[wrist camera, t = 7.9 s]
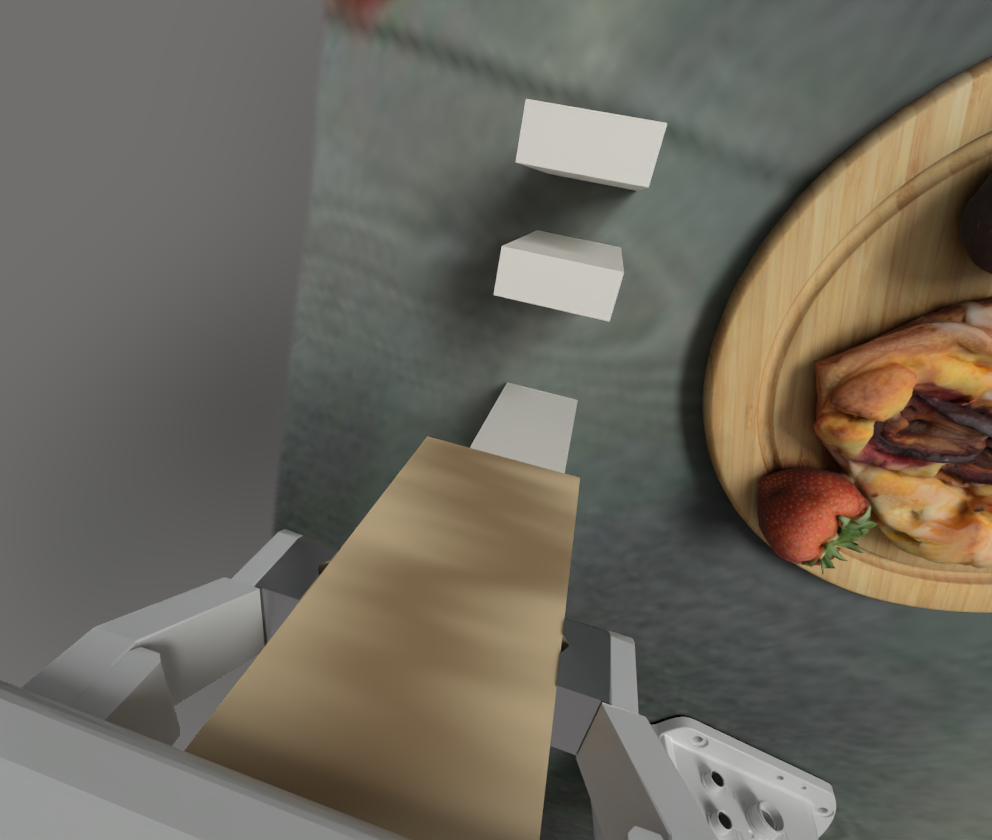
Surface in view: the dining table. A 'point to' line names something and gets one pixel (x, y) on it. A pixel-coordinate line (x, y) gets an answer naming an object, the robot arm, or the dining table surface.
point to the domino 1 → (420, 657)
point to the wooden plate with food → (872, 363)
